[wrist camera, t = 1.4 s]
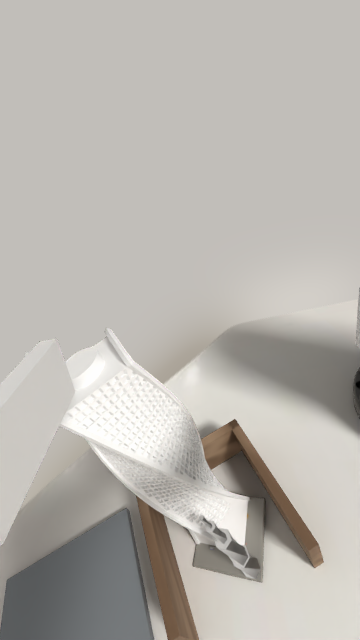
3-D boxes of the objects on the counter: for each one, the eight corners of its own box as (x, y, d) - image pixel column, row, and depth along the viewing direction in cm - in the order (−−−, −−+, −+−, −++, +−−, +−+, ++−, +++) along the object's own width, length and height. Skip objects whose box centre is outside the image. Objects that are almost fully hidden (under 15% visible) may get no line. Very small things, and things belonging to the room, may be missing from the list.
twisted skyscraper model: (182, 564, 31) (-32, 411, 16) (197, 483, 37) (50, 317, 22) (262, 582, 27) (76, 403, 13) (265, 489, 33) (141, 292, 18)
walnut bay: (244, 440, 38) (235, 418, 36) (323, 562, 27) (318, 544, 24) (150, 497, 37) (132, 480, 34) (190, 650, 26) (168, 642, 23)
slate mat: (129, 510, 37) (126, 508, 37) (160, 671, 25) (156, 670, 25) (11, 581, 36) (6, 579, 35) (-13, 785, 24) (-20, 787, 24)
